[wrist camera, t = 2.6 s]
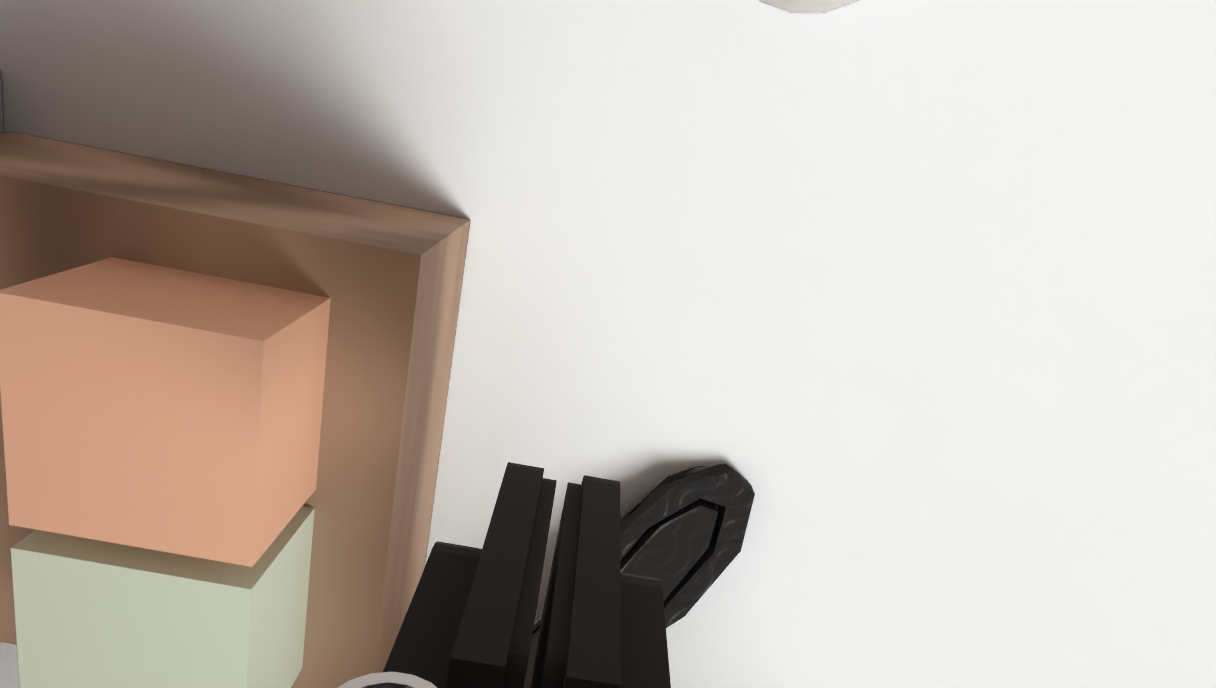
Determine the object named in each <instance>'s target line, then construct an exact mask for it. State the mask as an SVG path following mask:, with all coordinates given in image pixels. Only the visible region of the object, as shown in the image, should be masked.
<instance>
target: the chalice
mask: <svg viewBox="0 0 1216 688" xmlns="http://www.w3.org/2000/svg"><path fill="white" fill-rule="evenodd" d="M760 1H761V2H763V3H766V4H769V5H771V6H774V7H777V8H780V9H782V10H785V11H788V12H791V13H825V12H828V11H831V10H834V9H837V8H840V7H843V6H846V5H849V4H852V3H854V2H857V1H858V0H760Z"/></svg>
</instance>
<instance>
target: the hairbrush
mask: <svg viewBox="0 0 1216 688" xmlns="http://www.w3.org/2000/svg"><path fill="white" fill-rule="evenodd" d="M698 467H704V466H698ZM694 468H695V467H694ZM692 469H693V468H691V469H688V470H685V471H682V472H679V473H677V474H674V475H671V476H669V477H667V478H666V479H665V480H664V481H663V482H662V483H660V484H659V485H658V486H657V487H656V488H655V489H654V490H653V491H652V492H651V493H650V494H648V495H647V496H646V497H645V498H644V499H643V500H642V501H641V502H640V503H639V504H638V505H636V506H635V507H634V508H633V509H632V510H631V511H630V512H629V513H628V514H627V515H626V516H624V517H623V518H622V519H621V520H620V572H623V573H629V574H635V575H641V576H647V577H653V578H659V579H660V580H661V584H662V591H663V603H664V615H665V626H666V628H667V627H669V626H670V625H672V624H673V623H675V622H676V621H678V620H680V619H681V618H683V617H684V616H685V615H686V614H687V613H688V612H689V610H690V609H691V608H692V607H693V606H694V605H695V603H696V602H697V601H698V600H699V599H700V598H701V596H702V595H703V594H704V593H705V592H706V591H707V589H708V588H709V587H710V586H711V585H712V584H713V582H714V581H715V580H716V579H717V578H718V577H719V575H720V574H721V573H722V572H723V571H724V570H725V568H726V567H727V566H728V565H729V564H730V563H731V561H732V560H733V559H734V558H735V557H736V556H737V555H738V553H739V552H740V551H741V547H742V543H743V539H744V535H745V531H746V527H747V523H748V519H749V515H750V511H751V507H752V503H753V499H754V495H755V493H754V491H753V489H752V486H751V485H750V483H749V482H748V481H747V480H746V479H744V478H743V477H742V476H740V475H739V474H738V473H737V472H735V471H734V470H733V469H731V468H730V467H729V466H728V465H726V464H721V465H716V466H713V467H710V468H708V469H705V470H702V471H700V472H697V473H694V474H692V475H689V476H686V477H684V478H681V479H679V480H677V479H678V478H680V477H681V476H683V475H684V474H686V473H687V472H689V471H690V470H692ZM675 480H676V481H675ZM700 498H701V499H704V500H707V501H709V502H707V501H703V500H699V499H700ZM715 503H716V504H718V505H720V509H719V512H718V511H717V509H716V507H715ZM718 524H719V525H718ZM541 620H542V619H541ZM541 620H540V621H539V622H537V623H536V624H535V625H534V627H533V634H532V640H531V646H530V652H529V659H528V664H527V670H526V676H525V682H524V687H523V688H531V681H532V674H533V667H534V661H535V654H536V648H537V642H538V636H539V631H540V625H541Z"/></svg>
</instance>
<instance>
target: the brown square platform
mask: <svg viewBox="0 0 1216 688" xmlns="http://www.w3.org/2000/svg"><path fill="white" fill-rule="evenodd" d="M469 227H470V219H465V218H460V217H455V216H450V215H444V214H439V213H434V212H429V211H423V210H418V209H413V208H408V207H402V206H397V205H392V204H387V203H382V202H376V201H371V200H366V199H361V198H355V197H350V196H345V195H340V194H334V193H329V192H324V191H319V190H314V189H308V188H303V187H298V186H293V185H287V184H282V183H277V182H272V181H266V180H261V179H256V178H251V177H245V176H240V175H235V174H230V173H225V172H219V171H214V170H209V169H204V168H198V167H193V166H188V165H183V164H177V163H172V162H167V161H162V160H156V159H151V158H146V157H141V156H136V155H130V154H125V153H120V152H115V151H109V150H104V149H99V148H94V147H88V146H83V145H78V144H73V143H67V142H62V141H57V140H52V139H47V138H41V137H36V136H31V135H26V134H20V133H0V290H2V289H5V288H8V287H12V286H15V285H19V284H22V283H25V282H29V281H32V280H36V279H39V278H43V277H46V276H49V275H53V274H56V273H60V272H63V271H66V270H70V269H73V268H77V267H80V266H84V265H87V264H90V263H94V262H97V261H101V260H104V259H107V258H111V257H114V258H119V259H125V260H130V261H135V262H141V263H146V264H151V265H157V266H162V267H168V268H173V269H178V270H184V271H189V272H194V273H200V274H205V275H210V276H216V277H221V278H227V279H232V280H237V281H243V282H248V283H253V284H259V285H264V286H269V287H275V288H280V289H286V290H291V291H296V292H302V293H307V294H312V295H318V296H323V297H328V298H331V300H330V313H329V326H328V340H327V353H326V366H325V379H324V392H323V405H322V418H321V431H320V444H319V457H318V470H317V483H316V490H315V491H314V492H313V493H312V495H311V496H310V497H309V498H308V499H307V501H306V502H305V503H304V504H303V506H304V507H310V508H315V509H314V522H313V535H312V548H311V561H310V574H309V587H308V600H307V613H306V626H305V639H304V652H303V665H302V669H301V671H300V673H299V675H298V676H297V678H296V680H295V682H294V683H293V685H292V687H291V688H338V687H339V686H341V685H343V684H344V683H346V682H348V681H349V680H352V679H355V678H358V677H361V676H364V675H368V674H371V673H383V670H384V668H385V665H386V663H387V660H388V658H389V655H390V653H391V650H392V648H393V645H394V643H395V640H396V638H397V635H398V633H399V630H400V628H401V625H402V623H403V620H404V618H405V615H406V613H407V610H408V608H409V605H410V603H411V600H412V598H413V595H414V593H415V590H416V588H417V586H418V583H419V581H420V578H421V576H422V573H423V571H424V568H425V562H426V554H427V547H428V539H429V532H430V524H431V516H432V509H433V501H434V494H435V486H436V478H437V471H438V463H439V456H440V448H441V440H442V433H443V425H444V417H445V410H446V402H447V395H448V387H449V379H450V372H451V364H452V357H453V349H454V341H455V334H456V326H457V318H458V311H459V303H460V296H461V288H462V280H463V273H464V265H465V258H466V250H467V242H468V235H469ZM35 530H36V529H31V528H25V527H19V526H13V525H9V514H8V498H7V483H6V467H5V452H4V437H3V421H2V406H1V390H0V642H4V643H10V644H16V645H17V638H16V622H15V607H14V591H13V576H12V560H11V547H13V546H14V545H15V544H17V543H18V542H20V541H21V540H22V539H24V538H25V537H27V536H28V535H29V534H31V533H32V532H34V531H35Z"/></svg>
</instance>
